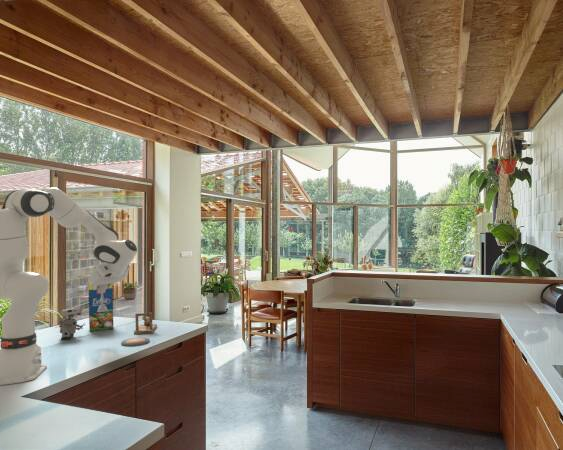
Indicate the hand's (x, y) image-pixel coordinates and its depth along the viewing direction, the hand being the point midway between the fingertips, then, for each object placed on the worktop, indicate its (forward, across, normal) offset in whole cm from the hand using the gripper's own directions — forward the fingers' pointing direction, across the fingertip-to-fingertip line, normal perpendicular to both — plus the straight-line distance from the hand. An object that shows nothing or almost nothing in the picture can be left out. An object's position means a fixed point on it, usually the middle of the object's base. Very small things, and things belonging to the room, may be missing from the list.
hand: (101, 287), depth 210 cm
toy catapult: (+17, -27, +20) cm, 38 cm away
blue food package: (+36, -20, +2) cm, 42 cm away
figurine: (+36, -1, +2) cm, 36 cm away
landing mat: (+8, -6, +30) cm, 32 cm away
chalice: (+8, 0, +8) cm, 11 cm away
